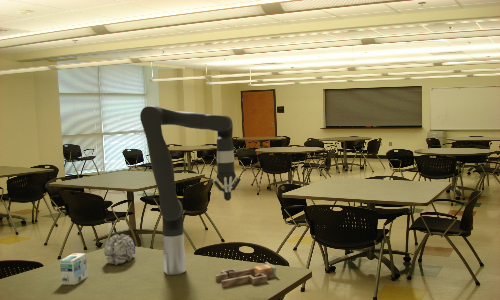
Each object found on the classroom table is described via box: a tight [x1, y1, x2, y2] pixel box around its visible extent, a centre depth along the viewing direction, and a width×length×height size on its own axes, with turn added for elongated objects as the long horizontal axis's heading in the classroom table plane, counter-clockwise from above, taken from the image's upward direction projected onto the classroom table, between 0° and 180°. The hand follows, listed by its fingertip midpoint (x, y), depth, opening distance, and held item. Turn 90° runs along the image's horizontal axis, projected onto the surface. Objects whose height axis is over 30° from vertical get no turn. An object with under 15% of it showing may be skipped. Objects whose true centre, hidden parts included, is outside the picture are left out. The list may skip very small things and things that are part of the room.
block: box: [253, 264, 272, 276], centre depth 199 cm, size 6×5×4 cm
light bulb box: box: [59, 252, 89, 286], centre depth 204 cm, size 11×7×11 cm, turn 168°
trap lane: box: [214, 261, 277, 288], centre depth 197 cm, size 24×16×4 cm, turn 113°
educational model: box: [103, 233, 136, 266], centre depth 228 cm, size 14×20×15 cm
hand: (227, 200), depth 204 cm, fingers closed
